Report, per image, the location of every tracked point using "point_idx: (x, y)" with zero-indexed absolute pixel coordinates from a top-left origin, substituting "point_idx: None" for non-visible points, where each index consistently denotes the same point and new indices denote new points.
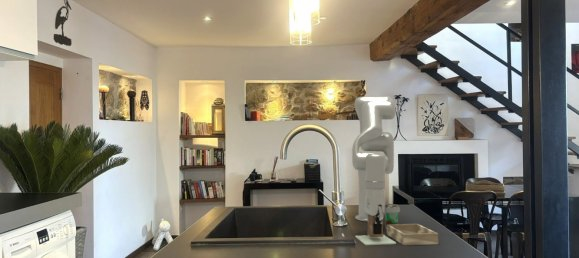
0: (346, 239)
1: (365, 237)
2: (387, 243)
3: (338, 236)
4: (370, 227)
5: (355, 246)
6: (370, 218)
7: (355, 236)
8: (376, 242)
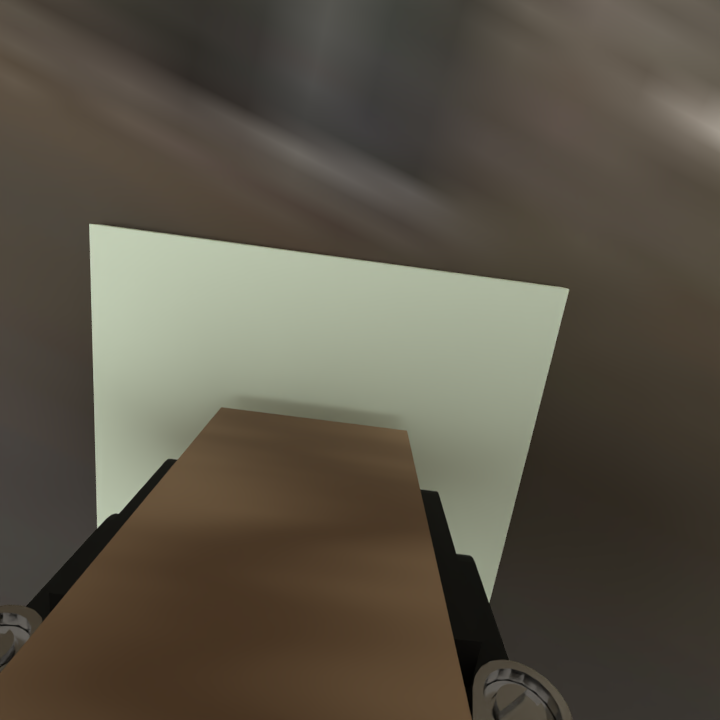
0: (481, 72)
1: (423, 388)
2: (100, 522)
3: (711, 13)
4: (228, 491)
5: (49, 28)
6: (127, 696)
7: (561, 287)
8: (137, 409)
